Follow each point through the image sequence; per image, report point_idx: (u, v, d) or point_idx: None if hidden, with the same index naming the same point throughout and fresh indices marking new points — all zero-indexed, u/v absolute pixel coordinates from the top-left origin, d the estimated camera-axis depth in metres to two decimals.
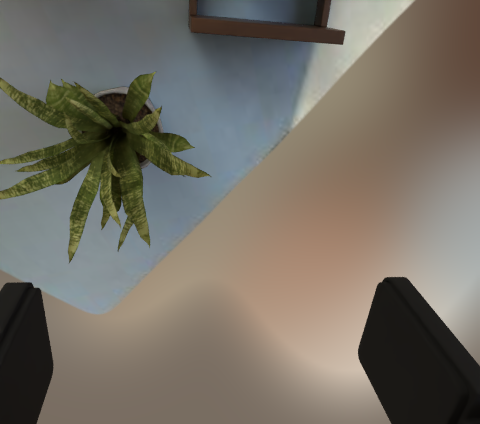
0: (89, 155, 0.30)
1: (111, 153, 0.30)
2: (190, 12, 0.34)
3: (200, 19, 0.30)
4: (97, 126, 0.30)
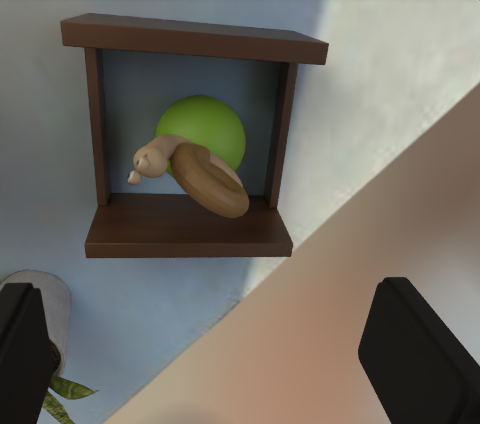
0: None
1: None
2: (98, 203, 0.26)
3: (97, 244, 0.23)
4: None
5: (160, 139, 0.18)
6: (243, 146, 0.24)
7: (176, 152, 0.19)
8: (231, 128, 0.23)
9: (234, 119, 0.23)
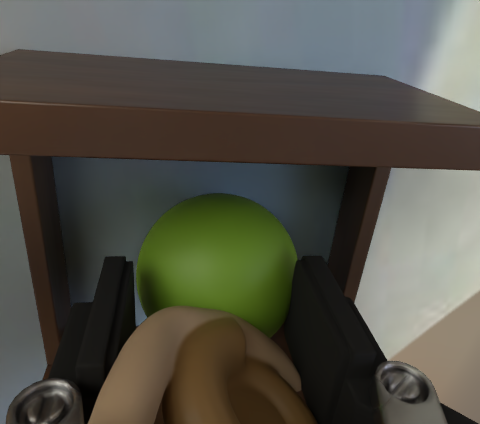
0: None
1: None
2: (48, 361, 0.16)
3: None
4: None
5: (139, 369, 0.07)
6: None
7: (178, 379, 0.08)
8: (281, 267, 0.12)
9: (285, 247, 0.12)
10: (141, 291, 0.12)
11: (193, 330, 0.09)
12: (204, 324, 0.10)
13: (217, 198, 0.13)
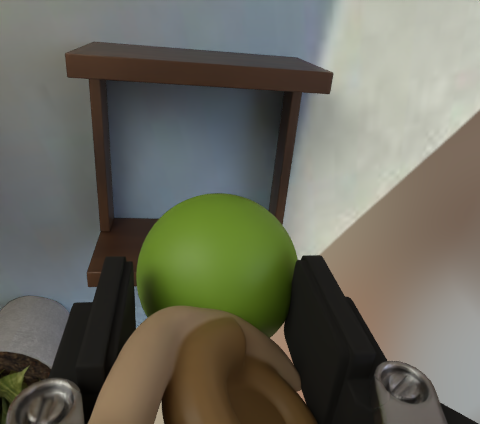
0: None
1: None
2: (101, 229, 0.26)
3: (99, 273, 0.22)
4: None
5: (139, 369, 0.07)
6: None
7: (178, 378, 0.08)
8: (280, 267, 0.12)
9: (285, 247, 0.12)
10: (141, 291, 0.12)
11: (193, 330, 0.09)
12: (204, 324, 0.10)
13: (217, 198, 0.13)
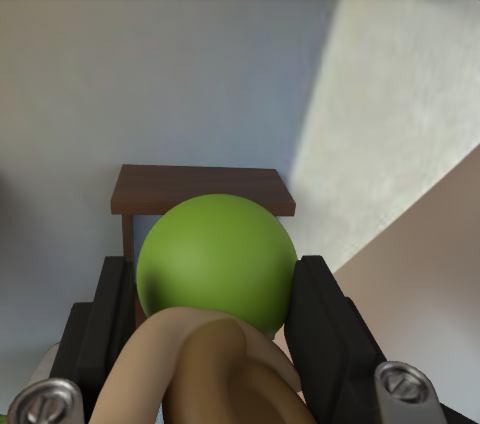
0: None
1: None
2: None
3: None
4: None
5: (140, 370, 0.07)
6: None
7: (178, 380, 0.08)
8: (281, 268, 0.12)
9: (285, 247, 0.12)
10: (141, 292, 0.12)
11: (193, 331, 0.09)
12: (204, 325, 0.10)
13: (217, 199, 0.13)
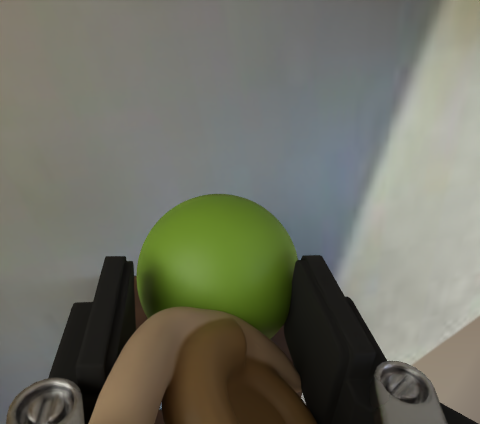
0: None
1: None
2: None
3: None
4: None
5: (140, 370, 0.07)
6: None
7: (178, 380, 0.08)
8: (281, 268, 0.12)
9: (285, 247, 0.12)
10: (141, 292, 0.12)
11: (193, 331, 0.09)
12: (204, 325, 0.10)
13: (218, 199, 0.13)
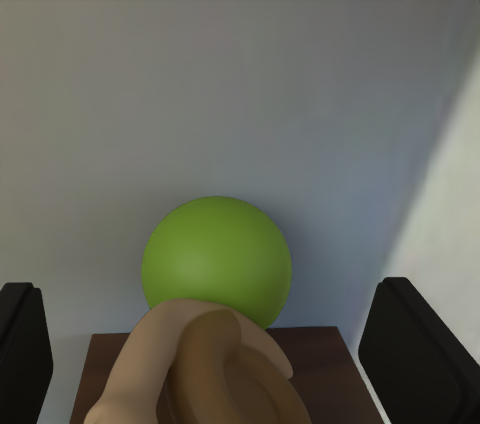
0: None
1: None
2: None
3: None
4: None
5: (147, 350, 0.08)
6: (289, 286, 0.14)
7: (180, 361, 0.09)
8: (274, 265, 0.13)
9: (279, 246, 0.14)
10: (146, 285, 0.13)
11: (194, 319, 0.10)
12: (203, 314, 0.11)
13: (217, 201, 0.14)
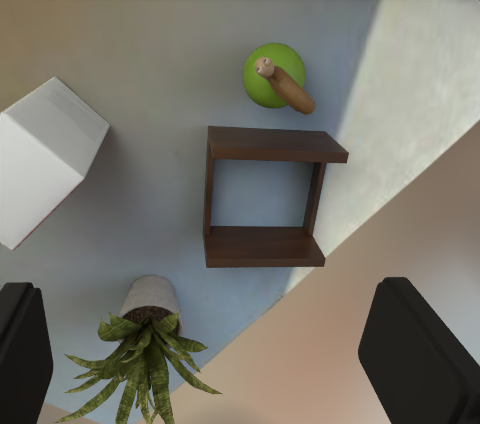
0: (128, 364, 0.39)
1: (145, 363, 0.39)
2: (204, 233, 0.43)
3: (213, 259, 0.39)
4: (135, 342, 0.39)
5: None
6: (304, 79, 0.35)
7: None
8: (299, 64, 0.34)
9: (300, 59, 0.34)
10: (248, 74, 0.34)
11: None
12: None
13: (275, 43, 0.34)
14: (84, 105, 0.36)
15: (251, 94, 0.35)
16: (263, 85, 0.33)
